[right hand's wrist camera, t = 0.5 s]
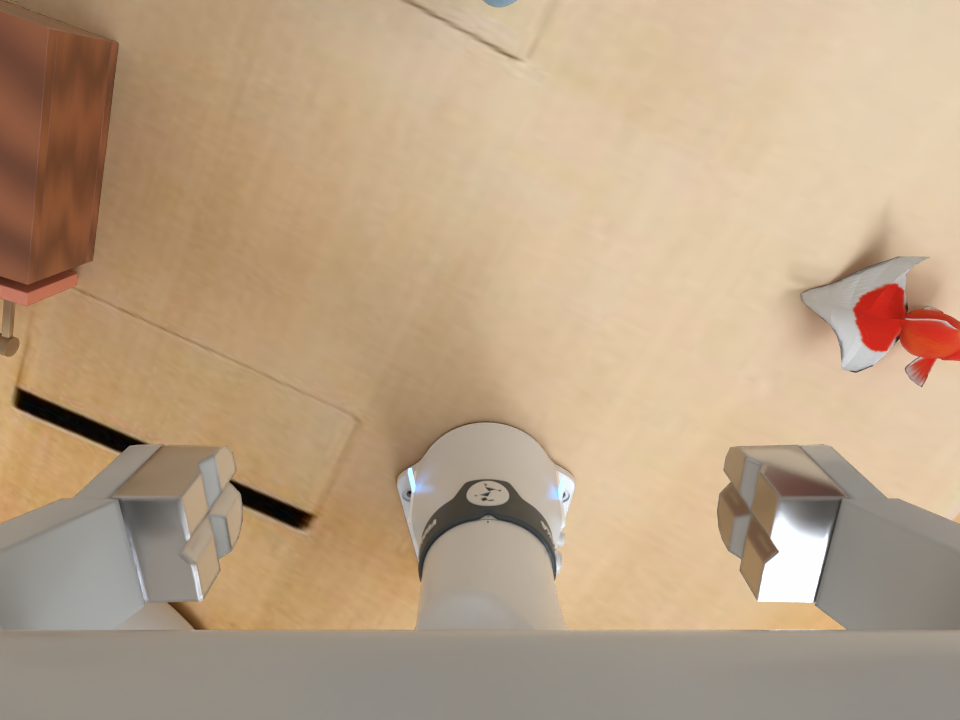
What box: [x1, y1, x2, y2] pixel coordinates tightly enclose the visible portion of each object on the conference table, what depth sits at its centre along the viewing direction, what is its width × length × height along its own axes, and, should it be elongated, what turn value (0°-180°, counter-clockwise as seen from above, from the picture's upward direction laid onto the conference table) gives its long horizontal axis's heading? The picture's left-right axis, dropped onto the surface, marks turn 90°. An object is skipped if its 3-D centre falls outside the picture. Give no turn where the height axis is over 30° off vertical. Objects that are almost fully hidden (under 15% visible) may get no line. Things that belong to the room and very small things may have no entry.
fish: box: [800, 257, 960, 387], centre depth 55 cm, size 11×16×10 cm
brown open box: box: [0, 0, 118, 285], centre depth 48 cm, size 19×11×9 cm, turn 160°
